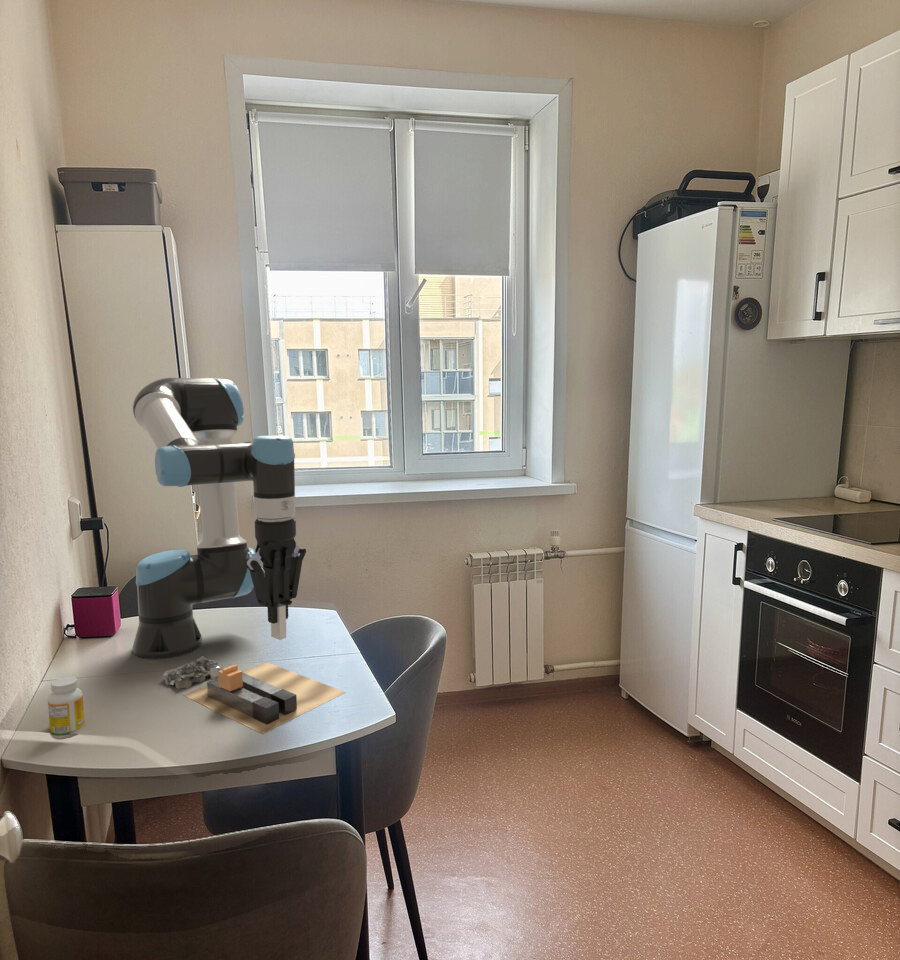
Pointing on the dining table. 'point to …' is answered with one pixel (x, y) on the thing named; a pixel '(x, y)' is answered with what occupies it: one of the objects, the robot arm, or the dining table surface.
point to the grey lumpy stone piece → (189, 668)
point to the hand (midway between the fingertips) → (278, 636)
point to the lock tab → (230, 678)
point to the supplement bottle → (65, 708)
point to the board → (304, 688)
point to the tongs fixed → (242, 699)
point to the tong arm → (271, 693)
